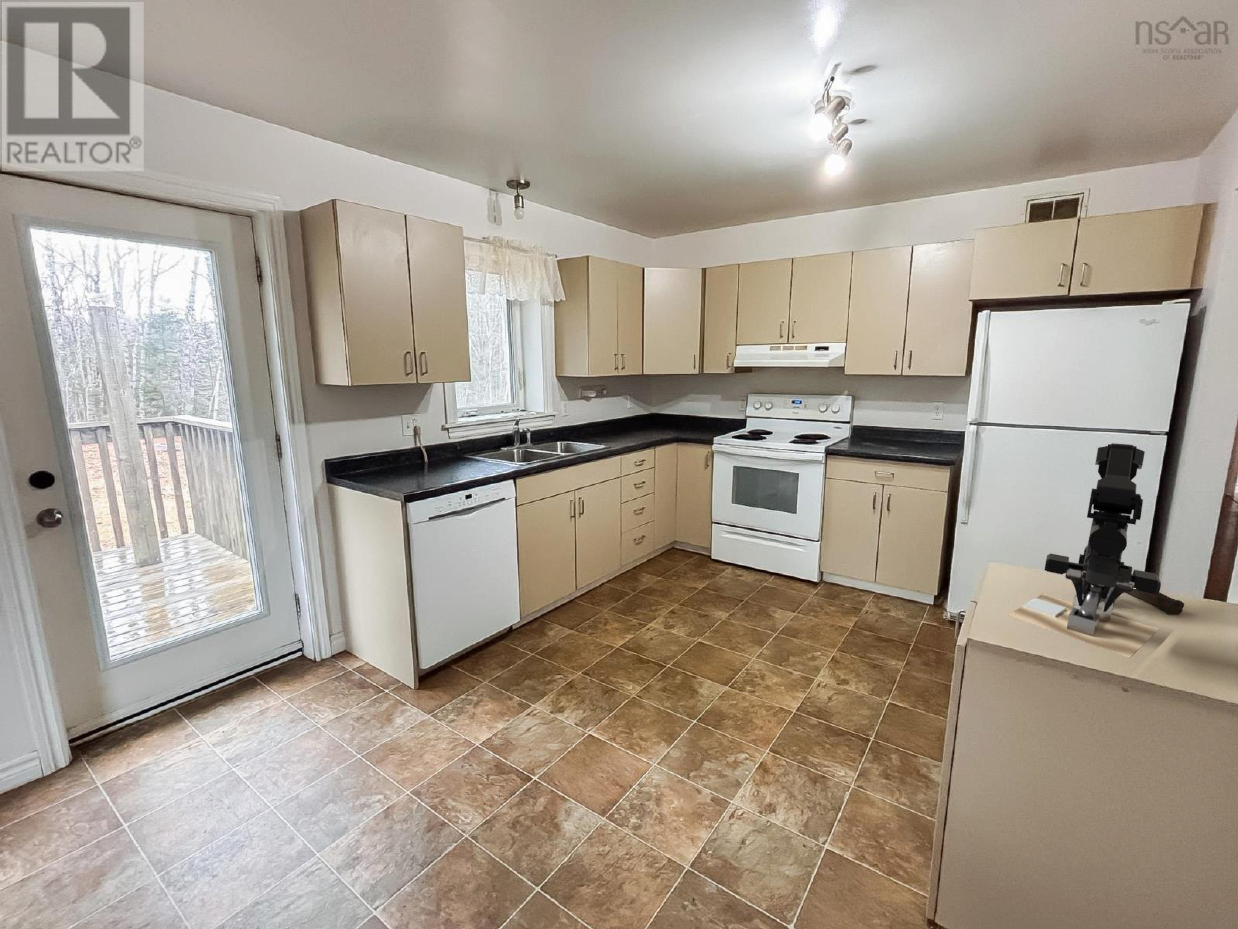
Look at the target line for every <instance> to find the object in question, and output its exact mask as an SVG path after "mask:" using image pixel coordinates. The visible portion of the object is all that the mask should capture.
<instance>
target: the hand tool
mask: <svg viewBox="0 0 1238 929" xmlns="http://www.w3.org/2000/svg"><path fill="white" fill-rule="evenodd" d="M1132 588H1135V587H1134V586H1132ZM1126 594H1129V595H1131V596H1133V597H1135V598H1137V599H1140V600H1141V601H1144V602H1146V603H1148V604H1150V605H1152V606H1154V607H1156V608H1158V609H1159V610H1163V611H1165V612H1166V615H1168V616H1171V615H1172V616H1174V615H1175V616H1176V615H1177V616H1178V615H1180V614H1181V613H1182V612H1183V609H1184V608H1185V602H1183V601H1182V600H1180V599H1175V598H1172V597H1170V596H1168V595H1167V594H1164V593H1161V592H1159V594H1152V593H1147V592H1142V591H1138V590H1137V589H1133V592H1126Z"/></svg>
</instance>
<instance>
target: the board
mask: <svg viewBox="0 0 1238 929" xmlns="http://www.w3.org/2000/svg"><path fill="white" fill-rule="evenodd" d="M1036 598H1037V599H1040V600H1043V601H1047V602H1050V603H1053V604H1056V605H1060V606H1063V607H1066V610H1065V611H1063V612H1062V613H1060V614H1059V615H1058V616H1056V617H1053V616H1050V615H1047V614H1043V613H1040V612H1037V611H1034V610H1031V609H1028V608H1025V607H1024V605H1022V606H1020V607H1019V608H1018V609H1016V610H1014V611H1012V612H1011V613H1010V614H1008V615H1007V616H1008V617H1011V618H1014V619H1016V620H1018V621H1019V620H1020V621H1023V622H1024V623H1025V622H1026V623H1028V624H1031V625H1034V626H1037V627H1040V628H1043V629H1045V630H1049V631H1051V632H1054V633H1057V634H1059V635H1063V636H1066V637H1068V638H1071V639H1074V640H1077V641H1080V642H1082V643H1083V642H1084V643H1086V644H1088V645H1092V646H1095V647H1096V648H1101V649H1103V650H1105V651H1109V652H1111V653H1114V654H1118V655H1120V656H1123V657H1126V658H1132V657H1133V655H1135V654H1136V653H1137V651H1138V650H1139V649H1141V647H1142V646H1144V644H1146V643H1147V642H1148V641H1149V640H1150V639H1151V638H1152V637H1153V635H1155V634H1156V633H1157V632H1158V631H1159V630H1160V628H1158V627H1154V626H1151V625H1147V624H1144V623H1142V622H1141V623H1140V622H1138V621H1135V620H1132V619H1129V618H1128V619H1127V618H1124V617H1121V616H1117V615H1115V614H1111V620H1109V621H1106V622H1100V621H1099V622H1098V628H1097V630H1096V632H1095V634H1094V636H1090V635H1087V634H1083V633H1080V632H1077V631H1073V630H1070V629H1067V624H1068V618H1069V614H1070V612H1071V611H1072V606H1073V602H1072V601H1069V600H1065V599H1062V598H1058V597H1055V596H1052V595H1049V594H1045V593H1042V594H1040V595H1038V596H1037V597H1036Z"/></svg>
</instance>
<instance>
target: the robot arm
mask: <svg viewBox="0 0 1238 929" xmlns="http://www.w3.org/2000/svg"><path fill="white" fill-rule="evenodd" d="M1145 454H1146V451H1144V450H1142V449H1139V448H1138V447H1137V446H1136V445H1133V444H1129V443H1127V444H1125V443H1114V442H1112V443H1111V444H1109V443H1108V444H1107V445H1105V446H1100V447H1097V452H1096V457H1095V463H1094V464H1095V465H1096V466H1098V469H1097V472H1098V474H1099V477H1100V479H1098V480H1097V483H1096V488H1093V487H1092V488H1091V492H1090V498H1089V504H1088V510H1087V513H1086V514H1087V515H1086V518H1088V519H1092V522H1091V526H1090V530H1089V536H1088V542H1087V545H1086V546H1085V547H1084V550H1083V554H1082V553H1079V557H1078V562H1072V561H1070V556H1067V555H1066V556H1065V555H1060V554H1056V553H1051V552H1050V553H1049V554H1047V555H1046V559H1045V564H1044V571H1046V572H1047V573H1052V574H1058V575H1065V579H1066V580H1070V581H1071V582H1072V585H1073V588H1074V590H1075V595H1077V599H1078V604H1079V606H1081V605H1082V594H1085V591H1086V588H1087V585H1088V582H1089V583H1093V584H1095V583H1096V584H1101V585H1104V586H1105V589H1104V591H1103V594H1102V597H1101V598H1104V599H1106V600H1105V603H1104V609H1103V612H1106V611H1107V610H1108V609H1109V607H1110V606H1111V605H1112V604H1113V605H1114V603H1115V601H1116V600H1117V599H1118V598H1119V597H1120V596H1121V595H1124V593H1127V592H1133V588H1132V586H1134V587H1135V588H1136V589H1137V590H1138V591H1142V592H1147V593H1152V594H1159V592H1160V590H1161V586H1162V583H1161V580H1160V577H1159V576H1158V574H1157V573H1154V572H1148V571H1143V570H1139V569H1134V570H1133V566H1132V565H1125V562H1124V561H1122V556H1123V552H1124V551H1126V548H1127V547H1128V546H1127V545H1128V532H1127V531H1128V527H1129V525H1136V526H1137V521H1140V520H1141V518H1142V511H1143V503H1144V499H1143V498H1142V495H1141V493H1137V484H1136V483H1135V482H1134V481H1132V480H1133V479H1134V478H1136V477H1137V474H1138V470H1142V468H1143V465H1144V459H1145ZM1092 509H1093V512H1092ZM1131 515H1132V518H1131ZM1160 593H1161V592H1160Z"/></svg>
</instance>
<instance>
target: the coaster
mask: <svg viewBox="0 0 1238 929" xmlns="http://www.w3.org/2000/svg"><path fill="white" fill-rule="evenodd" d="M1023 606H1024V607H1025V608H1028V609H1031V610H1034V611H1037V612H1040V613H1043V614H1047V615H1050V616H1053V617H1056V616H1058V615H1059V614H1060V613H1062V612H1063V611H1065V610H1066V607H1063V606H1060V605H1056V604H1053V603H1050V602H1047V601H1043V600H1040V599H1037V597H1034V598H1033V599H1031V600H1029V601H1028V602H1026V603H1024V604H1023Z"/></svg>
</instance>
